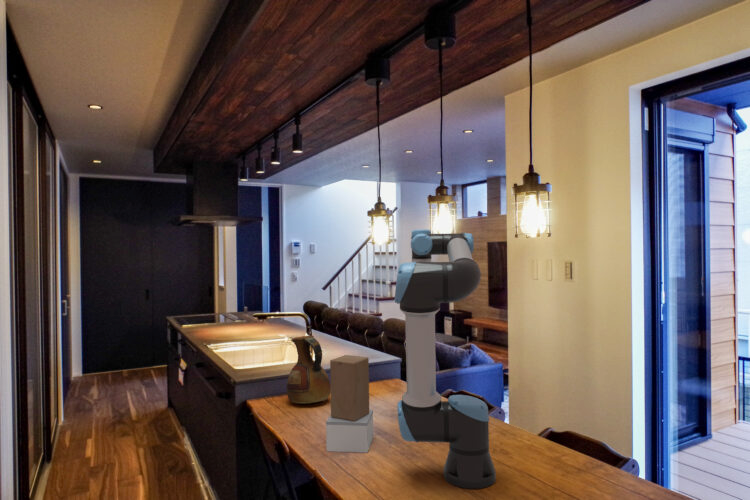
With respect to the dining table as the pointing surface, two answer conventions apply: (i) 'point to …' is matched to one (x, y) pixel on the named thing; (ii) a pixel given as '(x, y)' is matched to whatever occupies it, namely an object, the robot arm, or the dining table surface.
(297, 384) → the ceramic pitcher
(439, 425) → the robot arm
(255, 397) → the dining table surface
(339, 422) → the base brick
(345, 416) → the wooden block
